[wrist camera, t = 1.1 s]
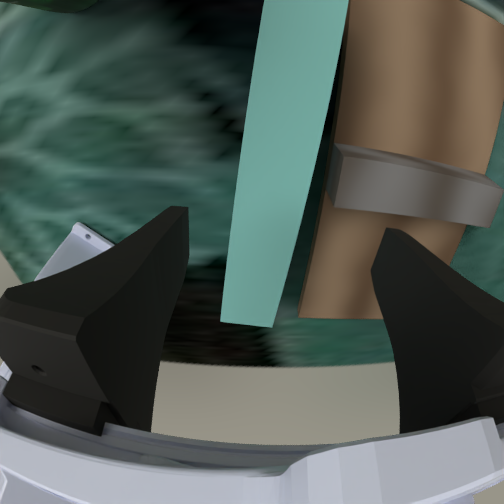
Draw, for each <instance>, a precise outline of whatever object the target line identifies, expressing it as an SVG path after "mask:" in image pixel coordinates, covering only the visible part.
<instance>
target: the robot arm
mask: <svg viewBox="0 0 504 504" xmlns="http://www.w3.org/2000/svg"><path fill="white" fill-rule="evenodd" d="M88 234H89V235H90V236H91V237H90V236H88ZM188 259H189V220H188V207H181V206H170V207H169V208H167V209H166V210H164V211H163V212H162V213H160V214H159V215H158V216H156V217H155V218H154V219H152V220H151V221H150V222H148V223H147V224H145V225H144V226H143V227H141V228H140V229H139V230H137V231H136V232H134V233H133V234H131V235H130V236H128V237H127V238H125V239H124V240H122V241H121V242H119V243H118V244H116V245H114V244H112V243H111V242H109V241H108V240H106V239H105V238H103V237H102V236H100V235H99V234H97V233H96V232H94V231H93V230H91V229H90V228H88V227H87V226H85V225H84V224H82V223H80V222H77V223H76V224H75V225H74V226H73V229H72V231H71V233H70V234H69V235H68V236H67V238H66V239H65V240H64V241H63V243H62V244H61V245H60V246H59V248H58V249H57V250H56V252H55V253H54V254H53V255H52V257H51V258H50V259H49V261H48V262H47V263H46V265H45V266H44V267H43V269H42V270H41V271H40V273H39V274H38V276H37V277H36V279H35V280H34V281H33V282H29V283H26V284H22V285H19V286H15V287H11V288H7V289H6V291H5V292H4V294H3V295H2V297H1V298H0V357H1V358H2V360H3V363H2V365H1V367H0V470H1V472H0V504H474V499H473V495H474V494H477V493H479V492H481V491H483V490H485V489H487V488H489V487H491V486H493V485H495V484H497V483H499V482H501V481H503V480H504V302H502V301H500V300H498V299H497V298H495V297H493V296H491V295H490V294H488V293H486V292H485V291H483V290H482V289H480V288H479V287H477V286H476V285H474V284H473V283H471V282H470V281H468V280H467V279H466V278H464V277H463V276H461V275H460V274H459V273H457V272H456V271H455V270H454V269H452V268H451V267H450V266H448V265H447V264H446V263H444V262H443V261H442V260H441V259H439V258H438V257H437V256H436V255H434V254H433V253H432V252H431V251H430V250H428V249H427V248H426V247H425V246H423V245H422V244H421V243H419V242H418V241H417V240H416V239H414V238H413V237H411V236H410V235H409V234H407V233H406V232H404V231H402V230H400V229H395V228H387V227H386V229H385V232H384V235H383V237H382V240H381V243H380V246H379V249H378V251H377V254H376V257H375V259H374V262H373V265H372V267H371V270H370V272H371V277H372V283H373V287H374V292H375V295H376V298H377V301H378V304H379V307H380V310H381V313H382V316H383V319H384V322H385V325H386V328H387V331H388V334H389V337H390V341H391V345H392V348H393V353H394V359H395V365H396V372H397V379H398V389H399V405H400V434H397V435H392V436H384V437H376V438H368V439H363V440H357V441H352V442H345V443H339V444H322V445H255V444H237V443H224V442H213V441H204V440H196V439H188V438H181V437H175V436H168V435H162V434H157V433H151V425H152V415H153V414H152V413H153V406H154V398H155V390H156V383H157V377H158V371H159V365H160V359H161V354H162V349H163V344H164V339H165V335H166V331H167V328H168V325H169V322H170V319H171V316H172V313H173V310H174V307H175V304H176V301H177V298H178V295H179V293H180V290H181V287H182V284H183V281H184V278H185V273H186V269H187V264H188Z"/></svg>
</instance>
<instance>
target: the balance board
mask: <svg viewBox="0 0 504 504" xmlns="http://www.w3.org/2000/svg"><path fill="white" fill-rule="evenodd" d="M503 100H504V25H502V24H501V23H499V22H498V21H496V20H494V19H493V18H491V17H489V16H487V15H486V14H484V13H482V12H480V11H479V10H477V9H475V8H473V7H471V6H469V5H467V4H465V3H463V2H461V1H459V0H349V2H348V8H347V13H346V19H345V25H344V35H343V45H342V54H341V63H340V71H339V80H338V88H337V95H336V103H335V110H334V117H333V124H332V131H331V137H330V144H329V150H328V156H327V163H326V169H325V174H324V180H323V186H322V192H321V197H320V203H319V208H318V214H317V219H316V224H315V229H314V234H313V239H312V244H311V249H310V254H309V259H308V264H307V268H306V273H305V278H304V282H303V287H302V291H301V296H300V300H299V305H298V317H300V318H332V319H383V316H382V313H381V310H380V307H379V304H378V301H377V298H376V295H375V292H374V287H373V283H372V277H371V272H370V270H371V267H372V265H373V262H374V259H375V257H376V254H377V251H378V249H379V246H380V243H381V240H382V237H383V235H384V232H385V229H386V227H387V228H395V229H400V230H402V231H404V232H406V233H407V234H409V235H410V236H411V237H413V238H414V239H416V240H417V241H418V242H419V243H421V244H422V245H423V246H425V247H426V248H427V249H428V250H430V251H431V252H432V253H433V254H434V255H436V256H437V257H438V258H439V259H441V260H442V261H443V262H444V263H446V264H447V265H448V266H449V265H450V263H451V260H452V258H453V256H454V254H455V252H456V249H457V247H458V245H459V243H460V240H461V238H462V235H463V233H464V231H465V228H466V226H467V224H468V225H474V226H480V227H486V228H490V225H491V223H492V220H493V218H494V215H495V213H496V210H497V208H498V205H499V202H500V200H501V197H502V194H503V191H504V190H503V189H502V188H501V187H500V186H498V185H497V184H496V183H495V182H493V181H492V180H491V179H490V178H488V177H487V176H486V175H485V172H486V169H487V166H488V162H489V159H490V155H491V152H492V148H493V144H494V141H495V137H496V133H497V128H498V124H499V120H500V115H501V110H502V105H503Z"/></svg>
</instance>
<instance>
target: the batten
mask: <svg viewBox="0 0 504 504" xmlns="http://www.w3.org/2000/svg"><path fill="white" fill-rule="evenodd" d="M348 2H349V0H264V6H263V11H262V17H261V23H260V29H259V35H258V42H257V48H256V54H255V60H254V67H253V73H252V80H251V86H250V93H249V100H248V107H247V113H246V120H245V127H244V134H243V141H242V149H241V156H240V163H239V171H238V178H237V186H236V193H235V201H234V209H233V217H232V225H231V233H230V241H229V249H228V258H227V266H226V275H225V284H224V293H223V302H222V311H221V320H220V322H228V323H237V324H245V325H254V326H263V327H272V326H273V323H274V319H275V316H276V312H277V309H278V305H279V302H280V298H281V295H282V291H283V287H284V284H285V280H286V277H287V273H288V269H289V265H290V262H291V258H292V254H293V250H294V247H295V243H296V239H297V235H298V231H299V227H300V224H301V220H302V216H303V212H304V208H305V204H306V200H307V196H308V192H309V188H310V183H311V179H312V175H313V171H314V167H315V163H316V158H317V154H318V150H319V145H320V141H321V137H322V132H323V128H324V123H325V119H326V114H327V110H328V105H329V100H330V96H331V91H332V86H333V81H334V76H335V71H336V66H337V61H338V56H339V51H340V46H341V41H342V35H343V30H344V25H345V19H346V13H347V8H348Z"/></svg>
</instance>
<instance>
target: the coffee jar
mask: <svg viewBox="0 0 504 504" xmlns="http://www.w3.org/2000/svg"><path fill="white" fill-rule="evenodd" d="M97 1H98V0H0V2H6V3H12V4H17V5H22V6H27V7H32V8H36V9H41V10H46V11H52V12H60V13H74V12H78V11H81V10H84V9H86V8H88V7H90V6H91V5H93V4H94V3H96V2H97Z"/></svg>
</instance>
